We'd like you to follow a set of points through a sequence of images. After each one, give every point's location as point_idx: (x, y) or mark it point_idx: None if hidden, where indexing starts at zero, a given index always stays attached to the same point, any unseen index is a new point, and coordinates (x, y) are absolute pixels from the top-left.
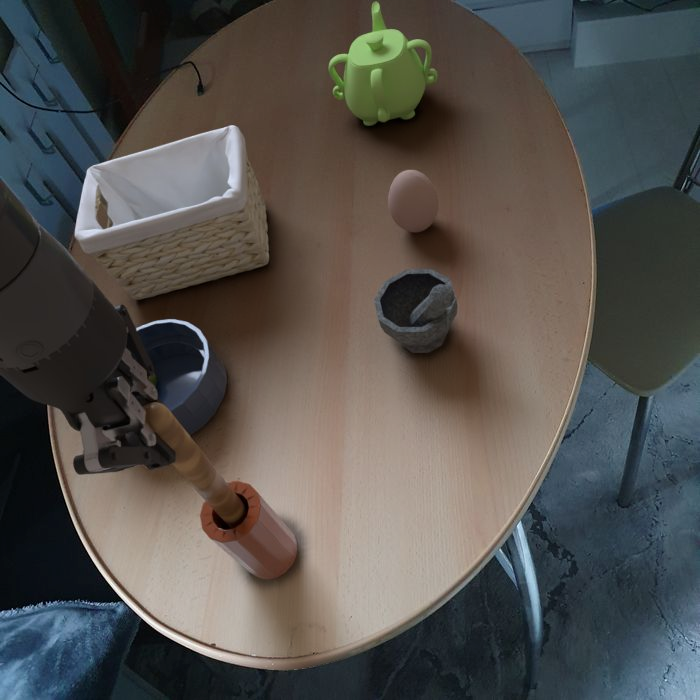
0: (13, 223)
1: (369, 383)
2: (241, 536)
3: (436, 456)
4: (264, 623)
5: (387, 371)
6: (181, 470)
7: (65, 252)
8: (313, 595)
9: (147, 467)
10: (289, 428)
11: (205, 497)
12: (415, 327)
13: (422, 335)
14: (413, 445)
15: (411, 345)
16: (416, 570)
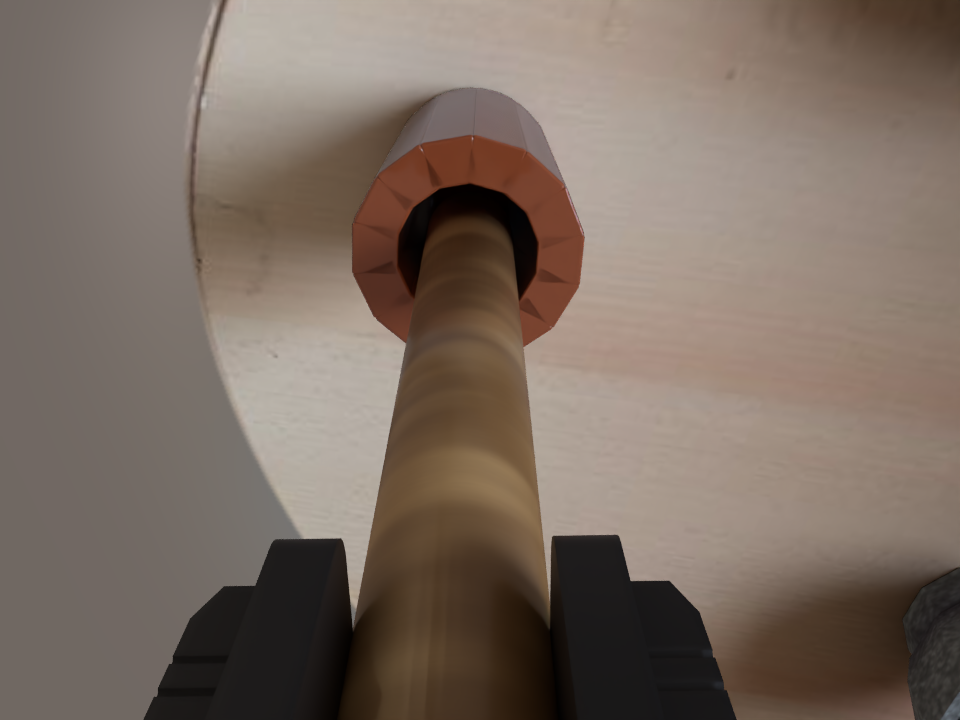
0: None
1: (882, 477)
2: (363, 292)
3: None
4: (280, 136)
5: (897, 524)
6: (380, 494)
7: None
8: (336, 273)
9: (179, 647)
10: (839, 248)
11: (409, 335)
12: (957, 718)
13: (926, 713)
14: (661, 547)
15: (928, 635)
16: (359, 504)
